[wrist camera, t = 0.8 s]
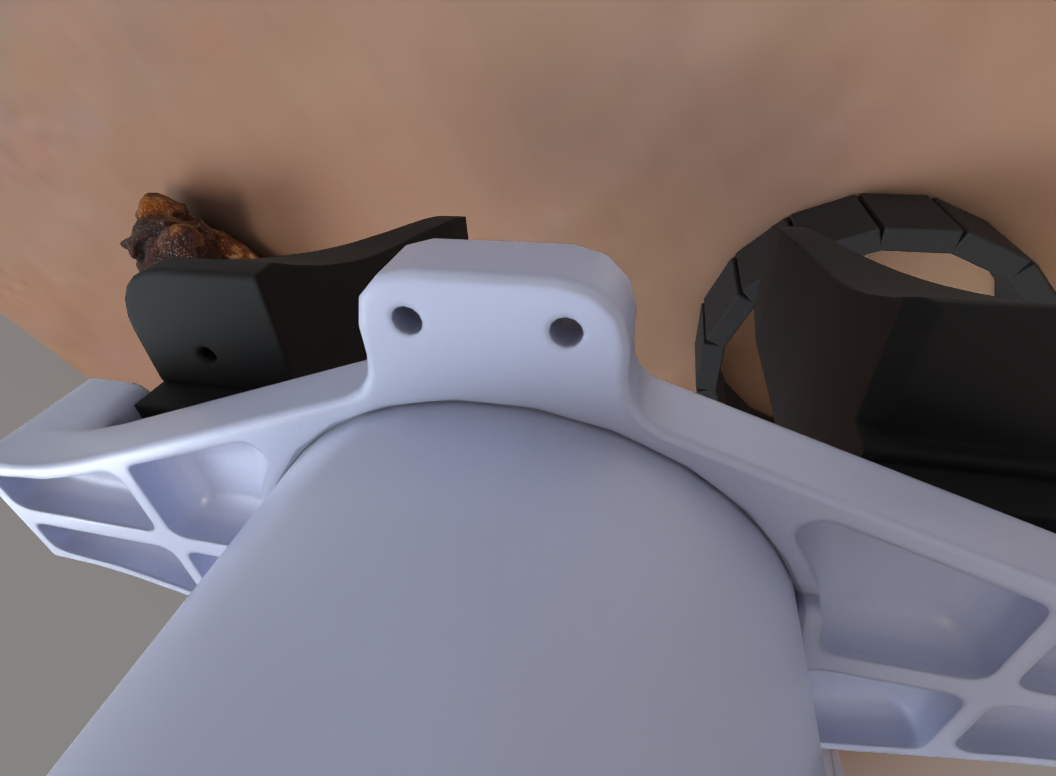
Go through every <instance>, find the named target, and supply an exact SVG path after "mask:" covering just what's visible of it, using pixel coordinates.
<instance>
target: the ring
mask: <svg viewBox="0 0 1056 776" xmlns="http://www.w3.org/2000/svg"><path fill="white" fill-rule="evenodd" d="M790 217H791V222H792V225H791V224H790V223H789V221H788V220H787V219H783V220H781V221H780V222H779V223H777V224H776V225H774V226H784V227H804V228H808V229H811V230H813V231H815V232H817V233H819V234H821V235H823V236H825V237H827V238H829V239H831V240H833V241H835V242H837V243H838V244H840V245H842V246H844V247H846V248H848V249H850V250H852V251H854V252H856V253H858V254H860V255H866V254H869V253H873V252H877V251H880V250H884V251H907V252H929V253H951V254H953V255H956V256H958V257H960V258H962V259H964V260H966V261H969V262H971V263H973V264H975V265H977V266H979V267H982V268H984V269H986V270H988V271H990V273H991V274H992V276H993V277H994V279H995V297H1000V298H1007V299H1014V300H1021V301H1028V302H1035V303H1043V304H1056V292H1055V291H1054V289H1053V288H1052V286H1051V285H1050V283H1049V282H1048V280H1047V278H1046V277H1045V275H1044V274H1043V272H1042V271H1041V269H1040V268H1039V266H1038V265H1037V264H1036V263H1035V262H1034V261H1033V260H1031V259H1030V258H1029V257H1028V256H1027V255H1026V254H1024V253H1023V252H1022V251H1021V250H1020V249H1019V248H1017V247H1016V246H1015V245H1014V244H1013V243H1012V242H1010V241H1009V240H1008V239H1007V238H1006V237H1005V236H1003V235H1002V234H1001V233H1000V232H999V231H998V230H996V229H995V228H994V227H993V226H992V225H990V224H989V223H988V222H987V221H985V220H983V219H981V218H979V217H977V216H975V215H972V214H970V213H968V212H966V211H964V210H962V209H959V208H957V207H955V206H953V205H951V204H949V203H947V202H944V201H942V200H940V199H938V198H933V199H932V200H931V199H930V198H929V197H928V196H927V195H893V194H861V196H860V199H859V200H858V199H857V197H856V196H855V195H852V196H848V197H845V198H842V199H839V200H836V201H833V202H829V203H826V204H823V205H820V206H817V207H814V208H811V209H807V210H804V211H801V212H798V213H795V214H792V215H791V216H790ZM771 229H772V228H770V229H769V230H768V231H766V232H765V233H763V234H762V235H761V236H759V237H758V238H756V239H755V240H754V241H752V242H751V243H750V244H748V245H747V246H745V247H744V248H743V249H741V250H740V251H738V252H737V253H736V255H737V259H735V258H732V259H731V260H730V261H729V263H728V264H727V266H726V267H725V269H724V270H723V272H722V273H721V275H720V276H719V278H718V279H717V281H716V282H715V284H714V285H713V286H712V288H711V289H710V291H709V292H708V294H707V295H706V297H705V298H704V303H702V306H701V312H700V318H699V324H698V330H697V336H696V342H695V368H696V390H697V394H700V395H702V396H705V397H707V398H710V399H712V400H715V401H718V402H720V403H723V404H725V405H728V406H730V407H733V408H736V409H738V410H741V411H743V412H746V413H748V414H751V415H753V416H756V417H759V418H761V419H764V420H766V421H769V422H771V423H774V424H775V421H774V419H773V418H771V417H769V416H766V415H764V414H762V413H760V412H757V411H755V410H753V409H751V408H749V407H748V406H747V405H746V404H745V402H744V401H743V400H742V399H741V398H740V397H739V396H738V395H737V394H736V393H735V392H734V391H733V390H732V389H731V388H730V387H729V386H728V385H727V384H726V383H725V382H724V380H723V376H722V373H721V370H720V367H721V362H722V357H723V353H724V348H725V345H726V344H727V342H728V341H729V340H730V338H731V337H732V336H733V334H734V333H735V332H736V330H737V329H738V328H739V326H740V325H741V324H742V322H743V321H744V320H745V318H746V317H747V316H748V314H749V313H750V312H751V311H752V309H753V308H754V306H755V301H756V297H757V292H758V288H759V283H760V279H761V274H762V270H763V265H764V261H765V256H766V252H767V247H768V243H769V238H770V234H771Z"/></svg>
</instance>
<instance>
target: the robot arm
mask: <svg viewBox="0 0 1056 776" xmlns="http://www.w3.org/2000/svg"><path fill="white" fill-rule="evenodd" d="M125 301H126V307H127V313H128V317H129V319H130V321H131V324H132V326H133V328H134V330H135V332H136V334H137V336H138V338H139V339H140V341H141V343H142V345H143V346H144V348H145V350H146V352H147V354H148V355H149V357H150V359H151V361H152V362H153V364H154V366H155V368H156V370H157V371H158V373H159V375H160V377H161V378H162V380H164V382H163V383H161V384H160V385H159V386H157V387H156V388H155V389H154V390H152V391H151V392H150V391H149V390H147V389H146V388H144V387H143V386H141V385H138V384H135V383H130V382H122V381H113V380H105V379H96V378H90V379H89V380H87V381H86V382H84V383H83V384H81V385H80V386H79V387H77V388H76V389H74V390H73V391H71V392H70V393H68V394H67V395H66V396H64V397H63V398H61V399H60V400H58V401H57V402H56V403H54V404H53V405H51V406H50V407H48V408H47V409H46V410H44V411H42V412H41V413H40V414H38V415H37V416H35V417H34V418H32V419H31V420H29V421H28V422H26V423H25V424H24V425H22V426H21V427H19V428H18V429H16V430H15V431H13V432H12V433H11V434H9V435H8V436H6V437H5V438H3V439H2V440H1V441H0V496H1V497H2V498H3V500H4V501H5V502H6V503H7V504H8V505H9V506H10V507H11V508H12V509H13V510H14V511H15V512H16V513H17V515H18V516H19V517H20V518H21V519H22V520H23V521H24V522H25V523H26V524H27V525H28V526H29V527H30V528H31V530H32V531H33V532H34V533H35V534H36V535H37V536H38V537H39V538H40V539H41V540H42V541H43V542H44V544H45V545H46V546H47V547H48V548H49V549H50V550H51V551H52V552H53V553H54V554H55V555H58V556H63V557H68V558H72V559H76V560H80V561H85V562H89V563H93V564H97V565H100V566H104V567H107V568H110V569H114V570H117V571H120V572H124V573H127V574H131V575H133V576H136V577H140V578H142V579H145V580H147V581H150V582H153V583H156V584H159V585H161V586H164V587H167V588H170V589H173V590H175V591H178V592H180V593H183V594H186V595H188V597H187V599H186V600H185V601H184V602H183V604H182V605H181V606H180V607H179V609H178V610H177V611H176V612H175V614H174V615H173V616H172V617H171V619H170V620H169V621H168V623H167V624H166V625H165V626H164V628H163V629H162V630H161V631H160V633H159V634H158V635H157V636H156V638H155V639H154V640H153V642H152V643H151V644H150V645H149V646H148V648H147V649H146V650H145V652H144V653H143V654H142V655H141V657H140V658H139V659H138V661H137V662H136V663H135V664H134V665H133V667H132V668H131V669H130V670H129V672H128V673H127V674H126V676H125V677H124V678H123V679H122V681H121V682H120V683H119V684H118V686H117V687H116V688H115V690H114V691H113V692H112V693H111V694H110V696H109V697H108V698H107V700H106V701H105V702H104V703H103V705H102V706H101V707H100V708H99V710H98V711H97V712H96V713H95V715H94V716H93V717H92V718H91V720H90V721H89V722H88V724H87V725H86V726H85V727H84V729H83V730H82V731H81V732H80V734H79V735H78V736H77V737H76V739H75V740H74V741H73V742H72V744H71V745H70V746H69V748H68V749H67V750H66V751H65V753H64V754H63V755H62V756H61V758H60V759H59V760H58V761H57V763H56V764H55V765H54V767H53V768H52V769H51V770H50V772H49V773H48V774H47V775H46V776H844V772H843V768H842V763H841V760H840V756H839V753H838V750H850V751H863V752H877V753H892V754H904V755H918V756H932V757H945V758H946V757H947V758H959V759H972V760H985V761H999V762H1014V763H1023V764H1034V765H1045V766H1055V767H1056V304H1043V303H1035V302H1028V301H1021V300H1014V299H1007V298H1000V297H994V296H989V295H983V294H978V293H973V292H969V291H964V290H960V289H956V288H951V287H947V286H943V285H939V284H936V283H932V282H929V281H925V280H922V279H919V278H916V277H913V276H910V275H907V274H904V273H901V272H899V271H896V270H893V269H891V268H888V267H886V266H884V265H881V264H879V263H877V262H875V261H872V260H870V259H868V258H866V257H864V256H862V255H860V254H858V253H856V252H854V251H852V250H850V249H848V248H846V247H844V246H842V245H840V244H838V243H837V242H835V241H833V240H831V239H829V238H827V237H825V236H823V235H821V234H819V233H817V232H815V231H813V230H811V229H808V228H804V227H784V226H772V229H771V234H770V238H769V243H768V247H767V252H766V256H765V261H764V265H763V270H762V274H761V279H760V283H759V288H758V292H757V297H756V301H755V306H754V318H755V335H756V343H757V347H758V352H759V356H760V360H761V364H762V368H763V373H764V377H765V381H766V385H767V389H768V393H769V397H770V401H771V405H772V410H773V415H774V421H775V424H774V423H771V422H769V421H766V420H764V419H761V418H759V417H756V416H753V415H751V414H748V413H746V412H743V411H741V410H738V409H736V408H733V407H730V406H728V405H725V404H723V403H720V402H718V401H715V400H712V399H710V398H707V397H705V396H702V395H700V394H697V393H695V392H692V391H689V390H687V389H684V388H682V387H679V386H677V385H674V384H672V383H669V382H666V381H664V380H661V379H659V378H656V377H654V376H652V375H650V374H649V373H648V372H647V371H646V370H645V368H644V367H643V366H642V365H641V364H640V363H639V361H638V359H637V356H636V354H635V345H634V334H635V320H636V304H635V299H634V295H633V291H632V286H631V282H630V278H629V277H628V276H627V275H626V274H625V273H624V272H623V271H622V270H621V269H620V268H619V267H618V266H617V265H616V264H615V263H614V262H613V261H612V260H611V258H610V257H609V256H608V255H607V254H605V253H601V252H598V251H595V250H591V249H588V248H585V247H581V246H578V245H574V244H563V243H538V242H513V241H488V240H468V233H467V225H466V217H460V216H436V217H431V218H427V219H423V220H420V221H417V222H414V223H411V224H408V225H405V226H402V227H399V228H396V229H394V230H391V231H388V232H385V233H382V234H379V235H375V236H372V237H369V238H366V239H363V240H360V241H356V242H353V243H349V244H346V245H342V246H338V247H333V248H329V249H324V250H319V251H314V252H307V253H300V254H293V255H285V256H278V257H268V258H254V259H227V260H220V259H202V258H183V257H165V258H164V259H162V260H160V261H159V262H157V263H155V264H153V265H152V266H150V267H148V268H146V269H145V270H143V271H141V272H140V273H138V274H136V275H134V276H133V278H132V279H131V281H130V282H129V284H128V285H127V289H126V296H125Z"/></svg>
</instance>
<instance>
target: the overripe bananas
mask: <svg viewBox="0 0 1056 776" xmlns="http://www.w3.org/2000/svg"><path fill="white" fill-rule="evenodd" d="M135 216H136V218H137V222H136V223H135V225H134V226H133V230H132V234H131V236H130V237H129V238H127V239H125V240H123V241H122V242H121V243H120V245H121V246H122V247H124V248H125V249H127V250H128V251H129V254H130V256H131V257H132V258H134V259H136V260H137V263H136V266H137V268H138V270H139V272H141V271H143V270H145V269H146V268H148V267H150V266H152V265H153V264H155V263H157V262H159V261H160V260H162V259H164V258H165V257H183V258H202V259H220V260H227V259H254V258H259V257H258V256H257V255H256V254H255V253H253V252H252V251H251V250H250V249H249V248H248V247H247V246H246V245H244V244H243V243H241V242H240V241H238V240H236V239H234V238H232V237H230V236H229V235H228V234H226V233H225V232H223V231H219V230H215V229H214V228H212V227H210V226H208V225H207V224H206V223H205V221H204V220H202V219H194V218H193V217H192V216H191V215H190V214H189V211H188V209H187V207H186V205H185V204H182V203H179V202H176V201H174V200H172V199H171V198H169V197H167V196H165V195H162V194H159V193H147V194H145V195H144V196H143V197H142V199H141V200H140V202H139V206H138V210H137V211H136V213H135Z"/></svg>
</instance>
